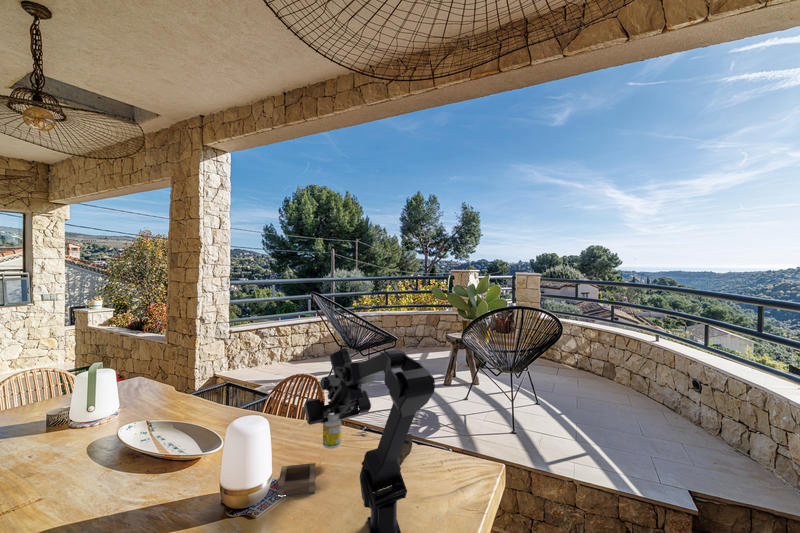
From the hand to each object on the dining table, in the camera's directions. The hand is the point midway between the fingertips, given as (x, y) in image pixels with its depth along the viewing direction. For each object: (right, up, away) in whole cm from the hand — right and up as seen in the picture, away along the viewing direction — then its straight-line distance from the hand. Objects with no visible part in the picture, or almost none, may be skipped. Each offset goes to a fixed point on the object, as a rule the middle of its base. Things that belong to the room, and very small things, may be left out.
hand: (330, 420), depth 103 cm
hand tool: (+21, -13, +2) cm, 25 cm away
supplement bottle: (+1, -7, -1) cm, 7 cm away
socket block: (-6, -12, -12) cm, 18 cm away
